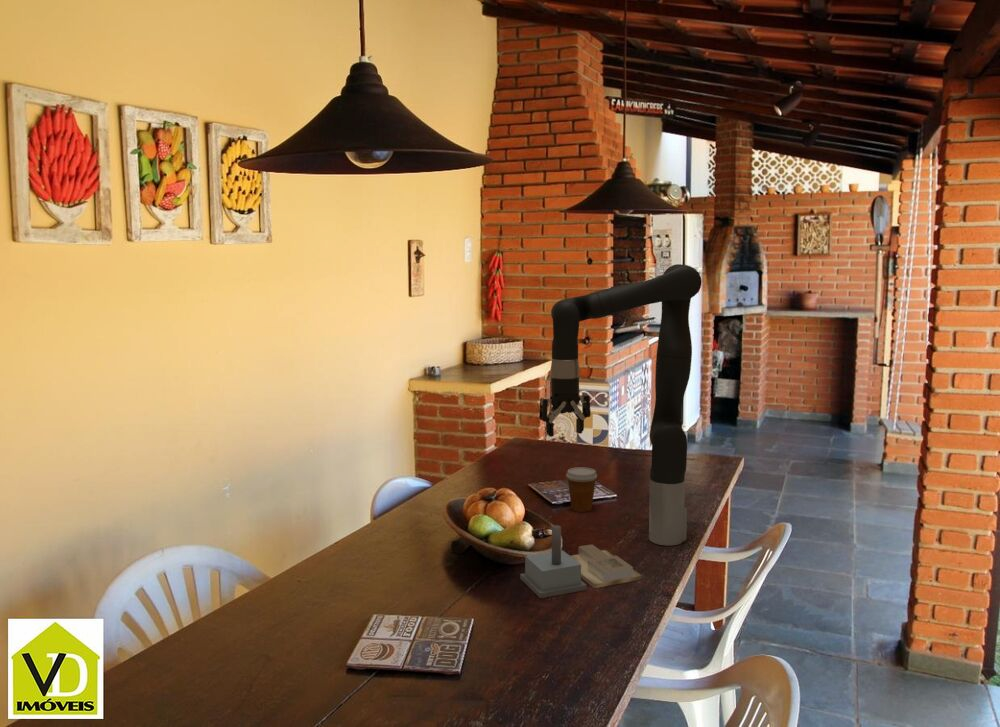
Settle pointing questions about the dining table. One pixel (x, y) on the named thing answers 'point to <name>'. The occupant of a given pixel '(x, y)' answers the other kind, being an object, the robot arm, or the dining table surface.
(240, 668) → the dining table surface
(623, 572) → the beige stepped block
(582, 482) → the disposable coffee cup
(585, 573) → the folded beige cloth
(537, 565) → the block with upright post
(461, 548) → the hand tool
